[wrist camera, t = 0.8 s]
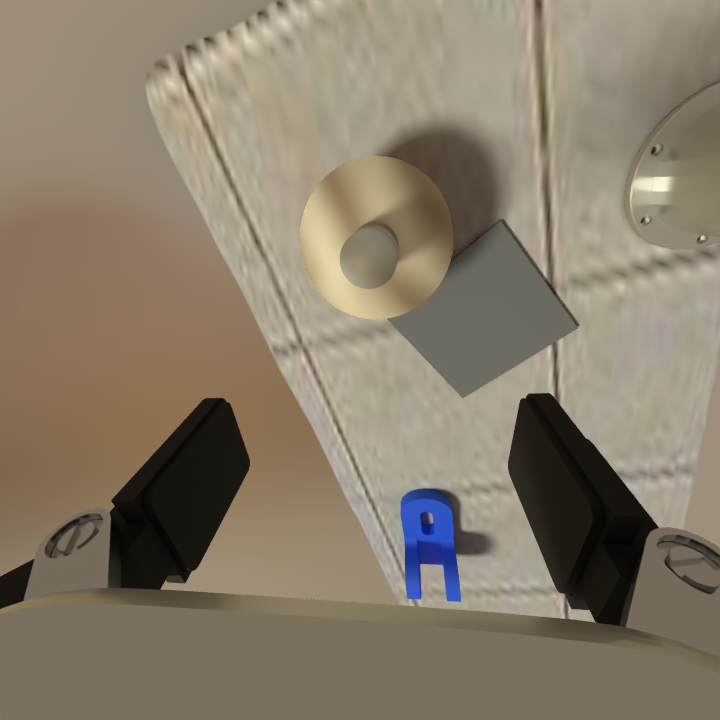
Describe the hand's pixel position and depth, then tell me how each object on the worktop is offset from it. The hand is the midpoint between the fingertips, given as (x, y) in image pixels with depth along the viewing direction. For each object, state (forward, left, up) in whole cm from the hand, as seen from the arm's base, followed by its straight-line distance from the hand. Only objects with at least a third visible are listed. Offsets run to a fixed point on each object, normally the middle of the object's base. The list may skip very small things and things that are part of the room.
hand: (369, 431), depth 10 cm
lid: (-1, -3, -21) cm, 21 cm away
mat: (-3, +12, -27) cm, 30 cm away
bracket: (+25, +38, -27) cm, 53 cm away
